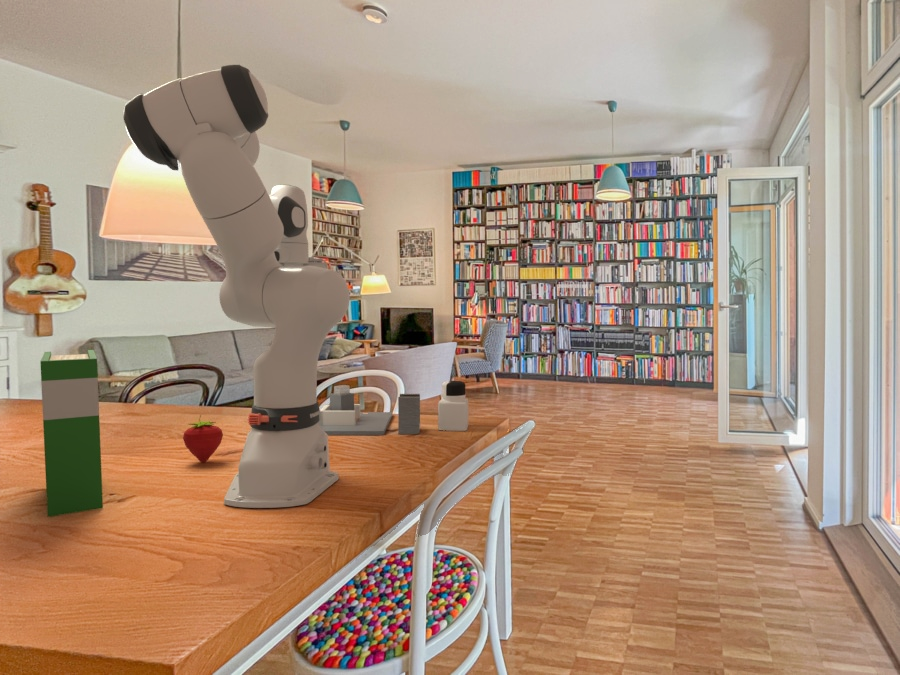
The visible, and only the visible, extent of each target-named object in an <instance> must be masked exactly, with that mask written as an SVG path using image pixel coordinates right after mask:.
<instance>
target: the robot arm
mask: <svg viewBox="0 0 900 675" xmlns="http://www.w3.org/2000/svg"><path fill="white" fill-rule="evenodd" d="M260 82H261V81H259V80H258V79H257V77H256V76H255V75H254V74H253V73H251V71H250V69H248V68H247V67H245V66H243V65H240V64H228V65H221V66H220V69H215V70H208V71H204V72H201V73H195V74H193V75H190V76H186V77H184V78H181V77H180V78H177V79H175V80H172V81H169V82H167V83H165V84H162V85H160V86H158V87H156V88H154V89H152V90H150V91H149V92H146V93H140V94H138V95H135V96H134V97H133V98H132V99H130V100H129V101H127V102H126V103H125V105H124V109H123V113H122V116H123V122H124V124H125V130H126V132H127V135H128V136H129V139H130V141H131V142H132V143H133V145H134V146H135V147H136V148H137V149H138V151H139V152H140V154H142V156H143V157H145V158H147V159H149V160H150V161H151V162H153V163H156V164H158V165H163V166H167V167H168V168H169V169H170V170H173V171H179V169H180V171H181V174H182V177H183V180H184V183H185V185H186V188H187V191H188V193H189V194H190V198H191V199H192V202H193V204H194V206H195V207H196V210H197V211H198V213H199V214H200V217H201V219H202V220H203V222H204V224H205V226H206V227H207V229H208V231H209V232H210V235H211V236H212V238H213V240H214V242H215V243H216V246H217V248H218V250H219V251H220V255H221V256H222V260H223V262H224V267H225V278H224V279H223V281H222V282H221V285H220V288H219V294H218V296H219V303H220V306H221V309H222V312H223V313H224V314H225V316H226V317H228V319H229V320H231V321H234V322H237V323H240V324H243V325H246V326H252V327H257V328H258V327H261V328H262V327H263V328H275V329H274V335H273V339H272V341H271V344H270V345H269V347H268V349H266V350H265V351H264V352H262V353H261V354H259V355H258V356H257V358H255V361H254V363H253V367H252V370H253V373H252V376H253V404H252V405H251V411H250V413H249V414H248V418H247V421H248V422H247V423H248V425H249V426H250V427H251V428H250V431H249V432H248V433H247V434H246V440H245V443H244V445H243V449H242V453H241V456H240V460H239V463H238V471H237V473H236V474H235V475H234V478H233V480H232V481H231V484H230V485H229V487H228V489H227V492H226V494H225V495H224V498H223V504H224V505H227V506H230V507H234V508H235V507H236V508H237V507H238V508H249V509H250V508H253V509H256V508H257V509H268V508H269V509H273V508H275V509H276V508H289V507H296V506H304V505H307V504H309V503H311V502H312V501H313V500H314V499H316V498H317V497H318V496H319V495H321V494H322V493H323V492H325V491H326V490H327V489H328V488H329V487H331V486H332V485H333V484H334V483H335V482H337V481H339V478H340V477H339V473H338V472H337V471H333V470H331V467H330V451H329V450H330V448H329V435H327V433H326V432H324V431H323V430H322V429H321V427H320V426H319V424H318V422H319V420H320V417H319V414H320V409H321V408H320V403H319V401H317V400H318V399H317V395H318V394H317V389H318V388H317V380H318V377H317V376H318V361H319V357H320V354H321V350H322V347H323V345H324V342H325V340H326V338H327V336H328V335H329V333H330V331H331V330H332V329H333V328H334V327H335V326H336V325H337V324H339V322H341V321H342V319H343V318H344V317H345V315H346V314H347V313H348V312H347V311H348V309H349V306H350V299H351V298H350V290H349V286H348V284H347V281H346V280H345V278H344V277H343V275H342V274H340V273H339V272H338V271H337V270H333V269H329V265H328V263H327V261H326V260H325V259H323V258H322V257H312V256H310V257H309V240H308V237H307V233H308V227H309V217H308V215H309V214H308V206H307V205H308V204H307V199H306V195H305V192H304V190H303V189H302V188H300V187H298V186H296V185H291V184H279V185H275V186H273V187H272V188H271V192H270V194H269V192H268V190H267V188H266V187H265V185H264V183H263V181H262V179H261V177H260V175H259V174H258V172H257V169H256V168H255V167H254V166H255V164H256V163H257V161H258V158H259V154H260V149H261V148H260V147H261V146H260V141H259V137H258V134H257V132H256V131H258V130H260V129H261V128H262V127H264V126H265V125H266V123H267V121H268V118H269V113H268V108H269V107H268V99H267V95H266V93H265V89H264V87H263V86H262V84H261V83H260Z"/></svg>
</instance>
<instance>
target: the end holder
mask: <svg viewBox="0 0 900 675" xmlns="http://www.w3.org/2000/svg"><path fill="white" fill-rule="evenodd" d="M363 413H368V414H363ZM319 417H320V420H319V422H318V424H319V426H320V427H321V429H322V430H323V431H324V432H326V433H327V435H328V436H384V435H385V433H386V431H387V429H388V427H387V426H389V424H390V423H391V422H390V421H391V420H392V418H393V412H392V411H361V403H360V404H359V403H354V411H330V403H326V404H324V405H323V407H321V408H320V414H319ZM386 428H387V429H386Z"/></svg>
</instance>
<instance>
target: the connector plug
mask: <svg viewBox="0 0 900 675" xmlns="http://www.w3.org/2000/svg"><path fill="white" fill-rule="evenodd" d="M350 391H351V390H350V385H348V384H347V385H346V384H341V385H339V384H338V385H334V386H333V393H329V404H330V411H354V404H355V393H353V392H350Z"/></svg>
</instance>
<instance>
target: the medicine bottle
mask: <svg viewBox="0 0 900 675" xmlns="http://www.w3.org/2000/svg"><path fill="white" fill-rule="evenodd" d="M437 408H438V409H437V411H438V412H437V420H438V421H437V425H438V426H437V427H438V428H437V430H438V431H439V430H443V432H445V430H446V432H447V431H448V432H466V431H467V430H468V427H469V398H466V383H465V382H464V381H461V380H446V381H444V382H442V384H441V399H440V400H439V401H438V403H437Z"/></svg>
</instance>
